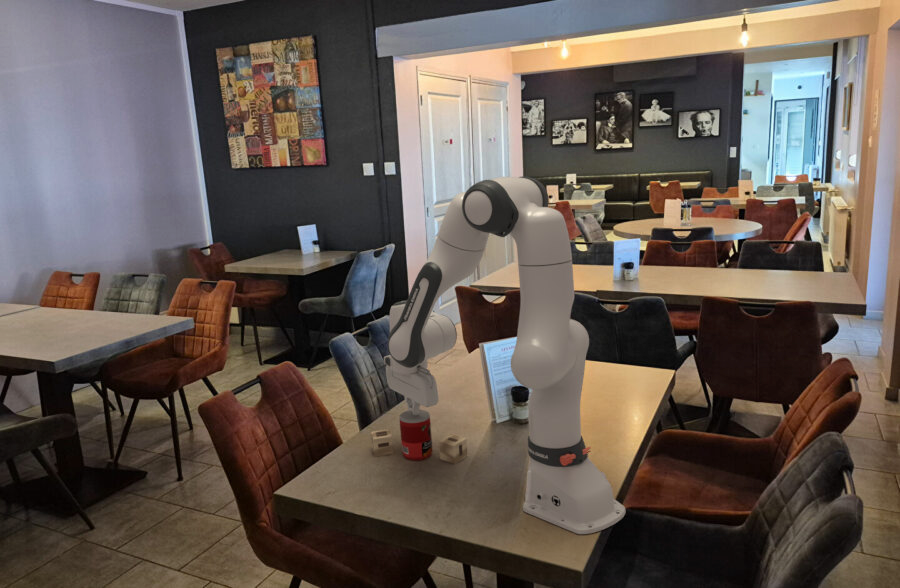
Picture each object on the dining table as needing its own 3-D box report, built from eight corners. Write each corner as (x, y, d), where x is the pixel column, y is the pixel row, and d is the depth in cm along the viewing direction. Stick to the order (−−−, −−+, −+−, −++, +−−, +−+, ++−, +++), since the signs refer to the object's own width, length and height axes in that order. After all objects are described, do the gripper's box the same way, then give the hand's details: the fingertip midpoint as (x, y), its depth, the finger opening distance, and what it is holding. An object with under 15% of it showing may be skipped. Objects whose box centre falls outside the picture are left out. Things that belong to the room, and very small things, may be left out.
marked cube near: (468, 456, 167) (466, 438, 166) (455, 464, 163) (453, 445, 162) (452, 452, 170) (451, 433, 169) (440, 459, 167) (438, 440, 166)
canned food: (429, 461, 166) (425, 420, 163) (399, 460, 167) (395, 420, 165) (435, 448, 173) (432, 409, 171) (406, 447, 175) (403, 409, 172)
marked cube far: (393, 454, 171) (392, 435, 170) (375, 457, 170) (373, 438, 169) (391, 446, 176) (389, 428, 175) (372, 449, 175) (370, 431, 174)
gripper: (442, 368, 158) (446, 421, 161) (401, 351, 175) (405, 399, 178) (420, 374, 155) (424, 428, 158) (380, 356, 172) (384, 405, 174)
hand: (413, 413), depth 168 cm, fingers closed
